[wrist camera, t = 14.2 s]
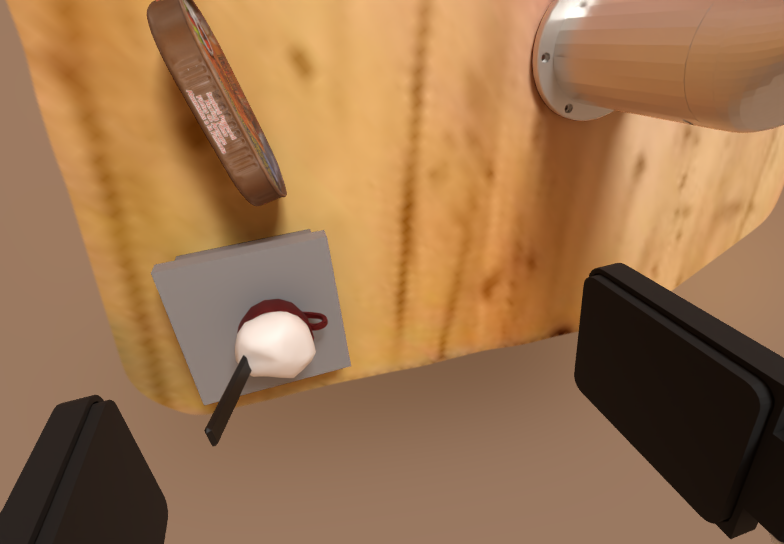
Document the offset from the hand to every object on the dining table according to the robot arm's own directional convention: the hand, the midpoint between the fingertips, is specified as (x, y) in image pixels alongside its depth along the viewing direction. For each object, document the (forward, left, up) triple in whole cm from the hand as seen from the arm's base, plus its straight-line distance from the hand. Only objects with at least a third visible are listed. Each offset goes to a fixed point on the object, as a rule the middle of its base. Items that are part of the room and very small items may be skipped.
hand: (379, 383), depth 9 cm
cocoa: (+4, +16, -30) cm, 34 cm away
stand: (+5, +16, -34) cm, 38 cm away
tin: (+3, -2, -35) cm, 35 cm away
